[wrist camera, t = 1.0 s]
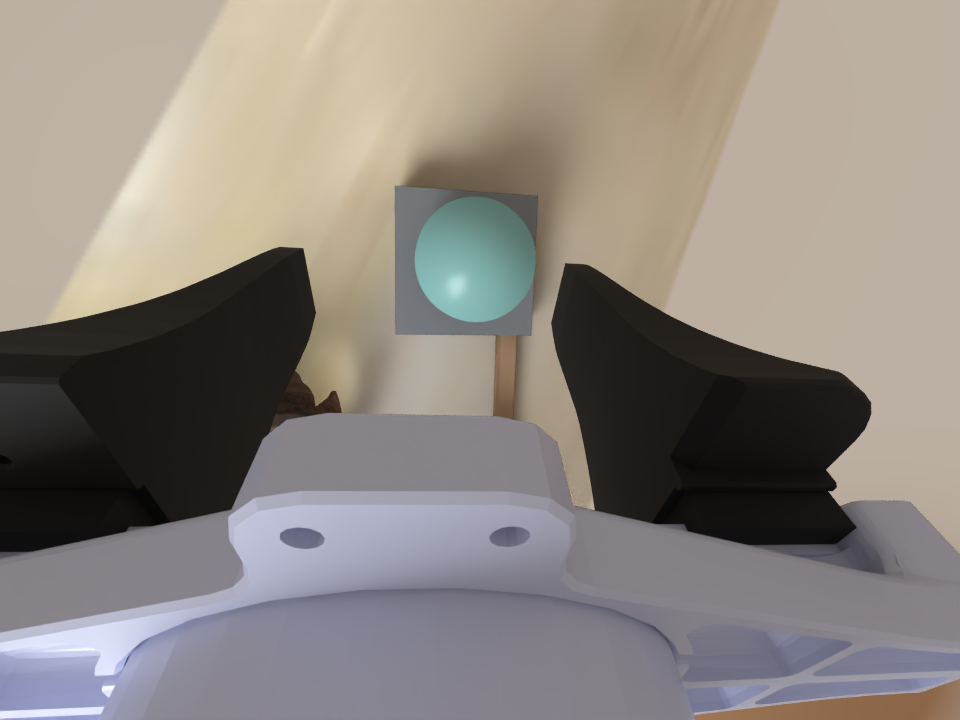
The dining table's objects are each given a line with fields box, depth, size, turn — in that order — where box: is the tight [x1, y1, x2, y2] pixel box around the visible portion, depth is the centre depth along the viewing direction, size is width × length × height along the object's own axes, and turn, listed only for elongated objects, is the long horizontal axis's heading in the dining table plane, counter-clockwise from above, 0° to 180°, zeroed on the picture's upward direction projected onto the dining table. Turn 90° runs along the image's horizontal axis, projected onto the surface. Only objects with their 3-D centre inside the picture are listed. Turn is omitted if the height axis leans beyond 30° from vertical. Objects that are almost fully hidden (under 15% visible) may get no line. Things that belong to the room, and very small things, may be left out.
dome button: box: [414, 197, 536, 322], centre depth 22 cm, size 6×6×4 cm
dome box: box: [395, 186, 538, 336], centre depth 25 cm, size 8×8×3 cm
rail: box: [493, 335, 517, 420], centre depth 28 cm, size 14×1×2 cm, turn 178°
